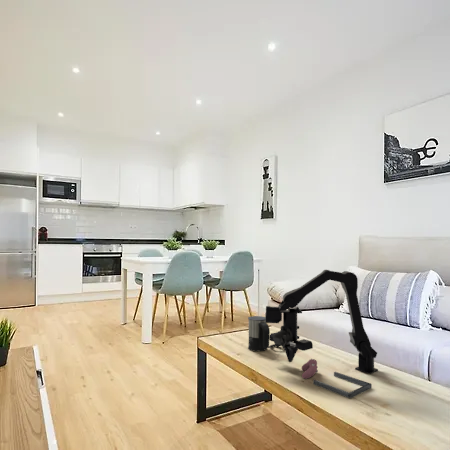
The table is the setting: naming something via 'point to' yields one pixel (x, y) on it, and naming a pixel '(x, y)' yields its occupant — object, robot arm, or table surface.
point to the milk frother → (259, 334)
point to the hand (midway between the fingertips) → (290, 362)
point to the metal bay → (351, 394)
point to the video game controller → (309, 368)
